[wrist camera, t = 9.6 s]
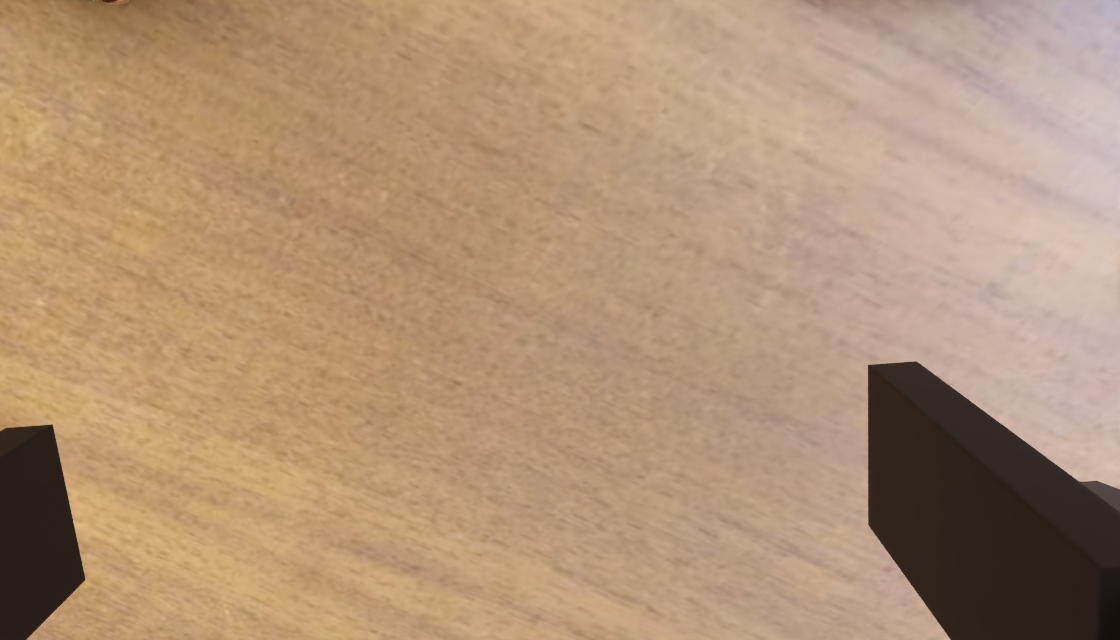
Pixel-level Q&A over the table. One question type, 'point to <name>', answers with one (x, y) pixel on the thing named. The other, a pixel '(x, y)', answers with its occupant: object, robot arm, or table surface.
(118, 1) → the coffee cup
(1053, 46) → the table surface
